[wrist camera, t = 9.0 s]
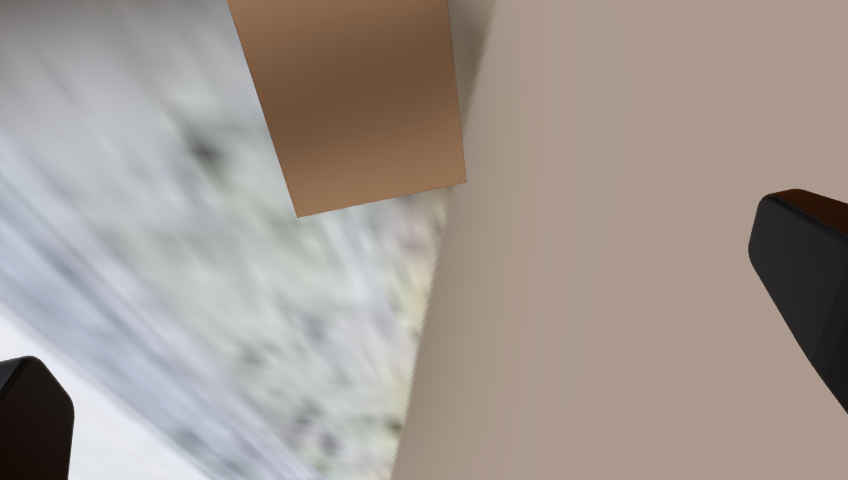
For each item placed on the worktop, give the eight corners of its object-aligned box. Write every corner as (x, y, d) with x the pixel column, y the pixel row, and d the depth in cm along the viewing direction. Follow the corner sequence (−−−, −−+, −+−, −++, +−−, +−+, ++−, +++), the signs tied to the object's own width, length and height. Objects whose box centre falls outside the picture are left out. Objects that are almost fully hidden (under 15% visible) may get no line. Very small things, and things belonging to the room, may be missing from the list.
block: (425, 90, 19) (466, 182, 14) (296, 116, 18) (297, 217, 14) (400, -93, 15) (442, -47, 11) (244, -65, 15) (224, -7, 11)
